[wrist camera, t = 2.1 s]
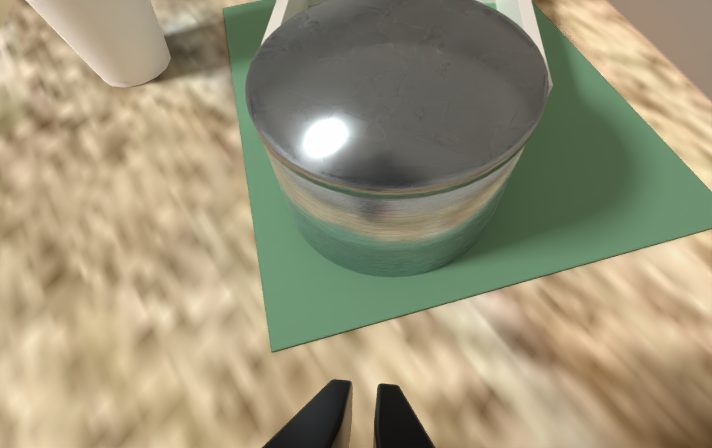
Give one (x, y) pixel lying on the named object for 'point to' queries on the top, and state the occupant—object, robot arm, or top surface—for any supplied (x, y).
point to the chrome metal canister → (395, 125)
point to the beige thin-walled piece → (510, 3)
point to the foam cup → (111, 37)
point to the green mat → (512, 216)
